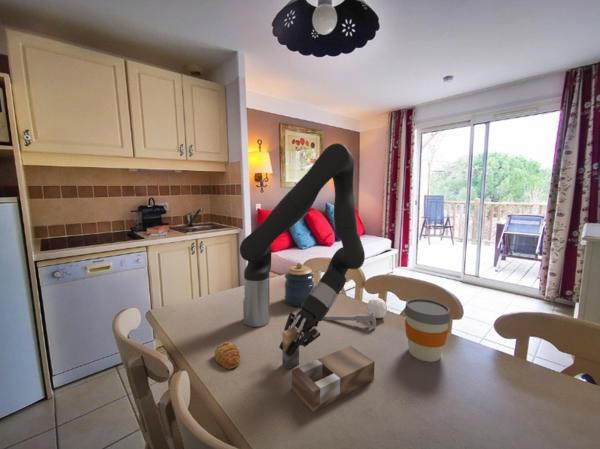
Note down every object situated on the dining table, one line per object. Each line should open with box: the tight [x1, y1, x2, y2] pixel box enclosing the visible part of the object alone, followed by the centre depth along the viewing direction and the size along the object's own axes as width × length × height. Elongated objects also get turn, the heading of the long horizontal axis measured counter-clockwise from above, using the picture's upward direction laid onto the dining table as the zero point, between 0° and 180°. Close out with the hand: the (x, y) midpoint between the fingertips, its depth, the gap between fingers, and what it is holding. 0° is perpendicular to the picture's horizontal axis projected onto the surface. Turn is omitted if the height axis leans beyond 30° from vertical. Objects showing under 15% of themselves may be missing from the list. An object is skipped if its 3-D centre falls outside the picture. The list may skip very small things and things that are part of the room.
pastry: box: [214, 341, 242, 370], centre depth 82 cm, size 9×7×4 cm
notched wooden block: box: [291, 345, 375, 413], centre depth 72 cm, size 20×9×5 cm, turn 124°
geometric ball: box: [366, 297, 388, 319], centre depth 110 cm, size 8×8×8 cm
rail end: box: [281, 327, 300, 370], centre depth 79 cm, size 4×2×10 cm, turn 124°
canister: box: [284, 262, 315, 308], centre depth 124 cm, size 13×13×18 cm
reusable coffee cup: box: [404, 298, 451, 363], centre depth 85 cm, size 13×12×15 cm
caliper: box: [323, 311, 377, 330], centre depth 104 cm, size 20×1×6 cm, turn 67°
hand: (284, 352), depth 78 cm, fingers closed on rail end, 2 cm apart
